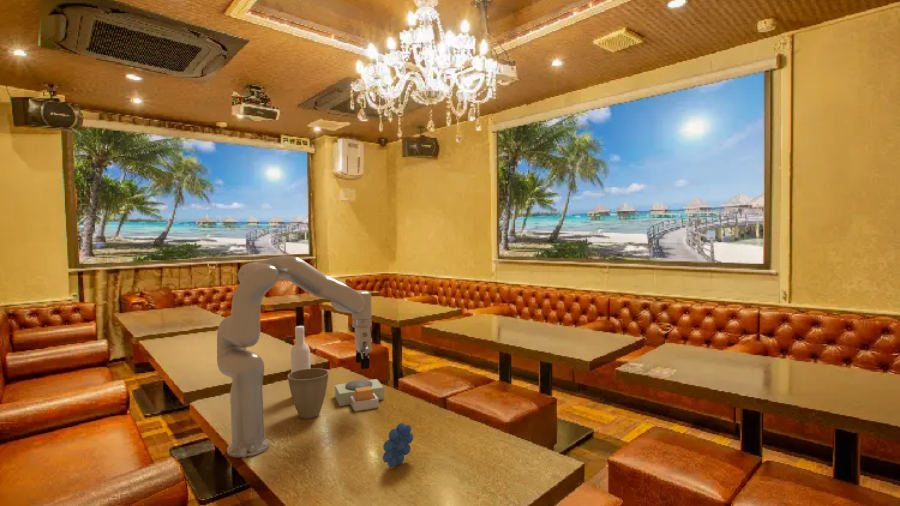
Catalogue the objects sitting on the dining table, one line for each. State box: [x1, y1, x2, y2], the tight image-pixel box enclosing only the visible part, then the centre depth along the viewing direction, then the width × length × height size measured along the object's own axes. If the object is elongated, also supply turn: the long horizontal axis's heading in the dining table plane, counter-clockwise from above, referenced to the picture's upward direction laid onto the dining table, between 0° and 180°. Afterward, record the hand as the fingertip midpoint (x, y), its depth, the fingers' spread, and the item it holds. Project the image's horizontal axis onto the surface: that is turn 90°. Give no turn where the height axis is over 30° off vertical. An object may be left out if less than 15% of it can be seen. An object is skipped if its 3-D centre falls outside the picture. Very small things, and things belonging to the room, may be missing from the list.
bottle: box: [290, 325, 311, 373], centre depth 196 cm, size 8×8×30 cm
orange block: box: [355, 386, 373, 401], centre depth 184 cm, size 4×6×7 cm
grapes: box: [382, 422, 414, 468], centre depth 138 cm, size 12×7×12 cm, turn 140°
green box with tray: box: [334, 378, 385, 412], centre depth 190 cm, size 20×18×6 cm
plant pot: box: [287, 367, 329, 420], centre depth 176 cm, size 15×15×16 cm
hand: (362, 365), depth 183 cm, fingers open, 9 cm apart
